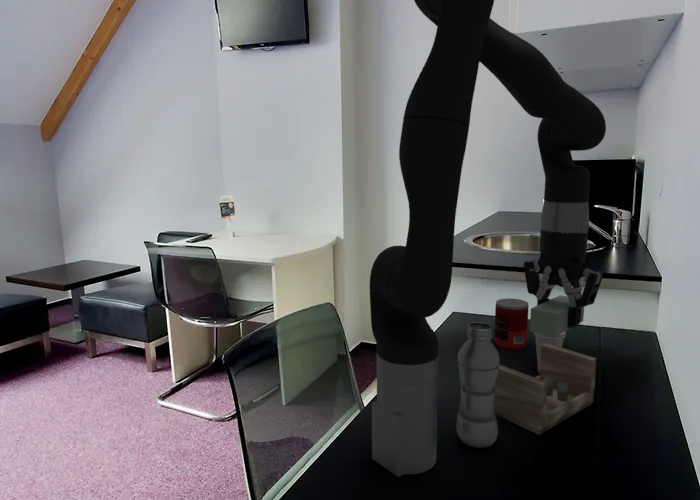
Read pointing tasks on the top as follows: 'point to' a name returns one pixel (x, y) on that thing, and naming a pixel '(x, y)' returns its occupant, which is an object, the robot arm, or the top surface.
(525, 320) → the canned food
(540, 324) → the grey-green rectangular block
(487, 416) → the plastic bottle
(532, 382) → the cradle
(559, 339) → the smoothie
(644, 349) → the top surface
